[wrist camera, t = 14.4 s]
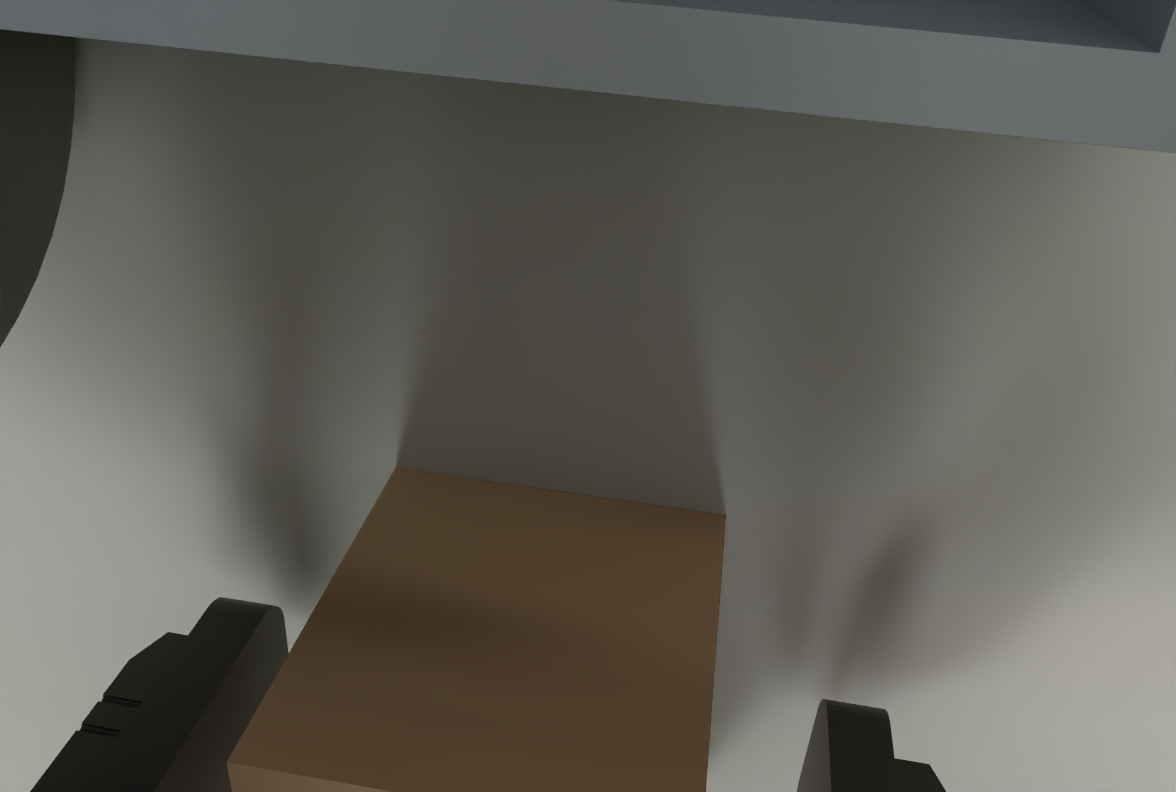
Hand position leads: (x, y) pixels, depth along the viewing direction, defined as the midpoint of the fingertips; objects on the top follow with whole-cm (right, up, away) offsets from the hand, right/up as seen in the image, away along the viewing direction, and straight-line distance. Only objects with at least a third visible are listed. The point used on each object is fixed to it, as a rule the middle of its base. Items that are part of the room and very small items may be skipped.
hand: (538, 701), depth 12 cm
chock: (0, 0, +1) cm, 1 cm away
